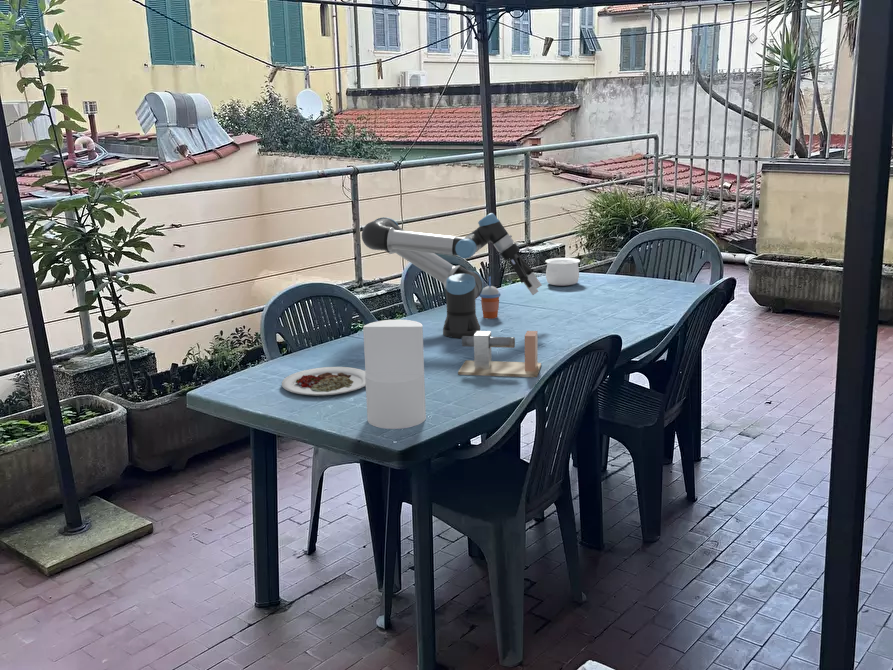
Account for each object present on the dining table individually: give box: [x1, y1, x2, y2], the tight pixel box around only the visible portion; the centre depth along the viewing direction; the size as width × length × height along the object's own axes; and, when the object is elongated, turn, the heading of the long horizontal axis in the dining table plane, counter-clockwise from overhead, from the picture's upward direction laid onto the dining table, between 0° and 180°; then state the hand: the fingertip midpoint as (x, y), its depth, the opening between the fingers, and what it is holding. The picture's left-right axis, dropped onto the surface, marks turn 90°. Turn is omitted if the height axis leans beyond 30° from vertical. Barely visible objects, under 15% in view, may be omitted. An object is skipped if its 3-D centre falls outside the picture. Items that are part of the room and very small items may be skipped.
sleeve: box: [473, 330, 493, 369], centre depth 301 cm, size 5×6×12 cm
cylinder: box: [362, 319, 427, 430], centre depth 253 cm, size 17×17×28 cm
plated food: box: [281, 366, 366, 396], centre depth 291 cm, size 30×30×3 cm
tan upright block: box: [524, 330, 539, 371], centre depth 297 cm, size 4×7×12 cm, turn 168°
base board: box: [457, 359, 542, 378], centre depth 301 cm, size 27×14×1 cm, turn 78°
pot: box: [545, 257, 581, 286], centre depth 440 cm, size 22×17×12 cm
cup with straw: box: [479, 276, 501, 320], centre depth 375 cm, size 9×9×18 cm
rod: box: [461, 336, 516, 349], centre depth 299 cm, size 18×4×4 cm, turn 78°
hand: (537, 290), depth 353 cm, fingers open, 13 cm apart
